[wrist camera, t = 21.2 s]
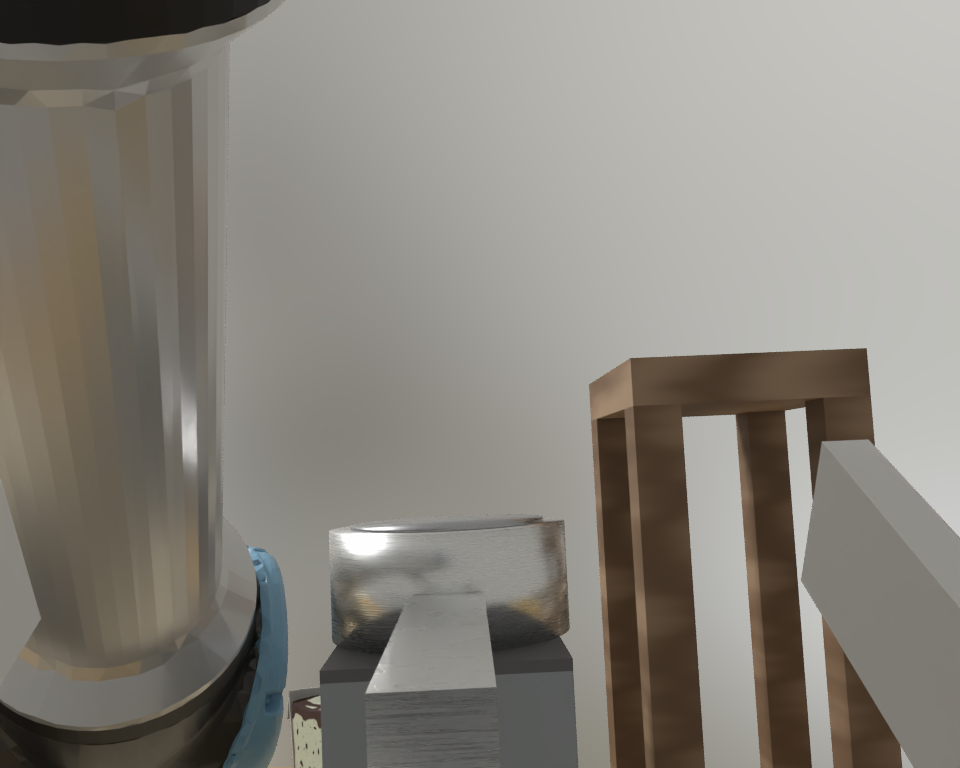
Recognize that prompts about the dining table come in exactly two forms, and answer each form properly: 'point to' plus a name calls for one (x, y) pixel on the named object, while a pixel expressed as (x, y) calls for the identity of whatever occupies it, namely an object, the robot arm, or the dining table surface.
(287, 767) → the dining table surface
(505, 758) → the gray rectangular block
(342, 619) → the silver saucepan
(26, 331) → the robot arm
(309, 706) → the food container
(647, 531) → the tall stand
